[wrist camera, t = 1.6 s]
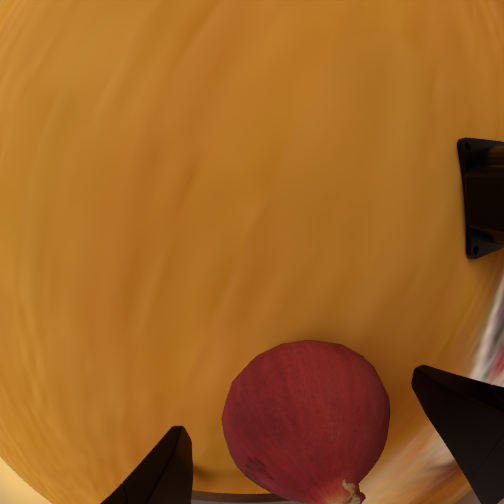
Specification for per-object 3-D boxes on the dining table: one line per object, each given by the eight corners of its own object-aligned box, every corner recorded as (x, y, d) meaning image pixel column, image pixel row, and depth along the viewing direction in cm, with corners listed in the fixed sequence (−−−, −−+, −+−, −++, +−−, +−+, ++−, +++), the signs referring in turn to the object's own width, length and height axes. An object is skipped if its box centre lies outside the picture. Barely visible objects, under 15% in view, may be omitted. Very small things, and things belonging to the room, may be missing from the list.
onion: (294, 418, 13) (331, 542, 5) (200, 378, 12) (183, 534, 4) (367, 340, 12) (465, 453, 4) (275, 281, 11) (354, 438, 3)
